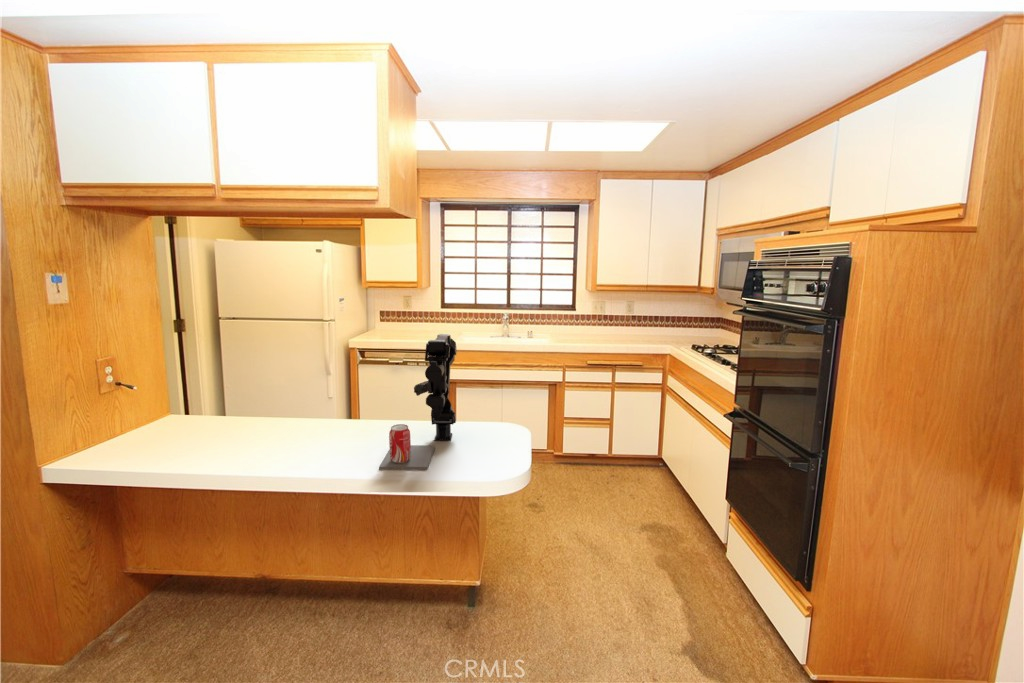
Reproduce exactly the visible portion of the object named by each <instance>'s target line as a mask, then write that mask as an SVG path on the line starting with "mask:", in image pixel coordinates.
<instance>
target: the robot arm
mask: <svg viewBox="0 0 1024 683" xmlns="http://www.w3.org/2000/svg"><path fill="white" fill-rule="evenodd" d="M436 336H437V337H436V338H435V339H430V340H429V339H428V341H427V343H426V344H425V345H426V346H425V354H424V362H428V366H427V368H426V369H425V370H424V375H425V378H426V379H427V380H426V381H423V382H420V383H418V384H415V386H413V389H414V390H413V393H415V394H416V396H420V395H422V394H425V393H427V394H428V395H427V396H426V398H425V405H426V406H427V407H430V408H431V411H430V420H431V425H435V436H434V438H433V441H451V440H452V439H453V438H452V437H453V433H452V429H451V427H452V426H451V425H454V424H456V422H457V421H456V419H457V418H456V413H455V412H454V411H455V410H454V409H453V406H452V403H451V401H450V390H451V389H450V382H451V381H450V380H451V366H452V364H453V363H454V362H455V360H456V356H457V352H458V351H457V350H458V349H457V343H456V341H455V340H454V339H453V338H451V334H448V333H439V334H437V335H436Z"/></svg>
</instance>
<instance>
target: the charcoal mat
mask: <svg viewBox="0 0 1024 683" xmlns="http://www.w3.org/2000/svg"><path fill="white" fill-rule="evenodd" d="M435 449H436V445H435V444H434V445H433V444H432V445H431V444H428V445H427V444H426V445H424V444H423V445H421V444H420V445H419V444H416V445H414V444H413V445H412V444H411V458H410V459H409V460H408V461H407V462H404V463H394V462H393V461H391V459H390V448H389V449H388V451H387V453H386V454H385V456H384V458H383V460H381V463H380V464H379V467H378V469H379V470H380V471H382V470H383V471H384V470H387V471H389V470H390V471H391V470H395V471H397V470H399V471H401V470H404V471H405V470H406V471H408V470H413V471H416V470H421V471H422V470H423V471H424V470H426V471H427V470H428V468H429V466H430V462H431V460H432V457H433V454H434V451H435Z"/></svg>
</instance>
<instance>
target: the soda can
mask: <svg viewBox="0 0 1024 683" xmlns="http://www.w3.org/2000/svg"><path fill="white" fill-rule="evenodd" d="M388 434H389V436H388V438H389V439H388V440H389V441H388V442H389V449H390V459H391V461H393V462H394V463H404V462H407V461H408V460H409V459H410V458H411V445H412V444H411V441H412V440H411V430H410V428H409V425H407V424H406V423H404V424H403V423H400V424H393V425H392V426H391V427H390V431H389V433H388Z"/></svg>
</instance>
